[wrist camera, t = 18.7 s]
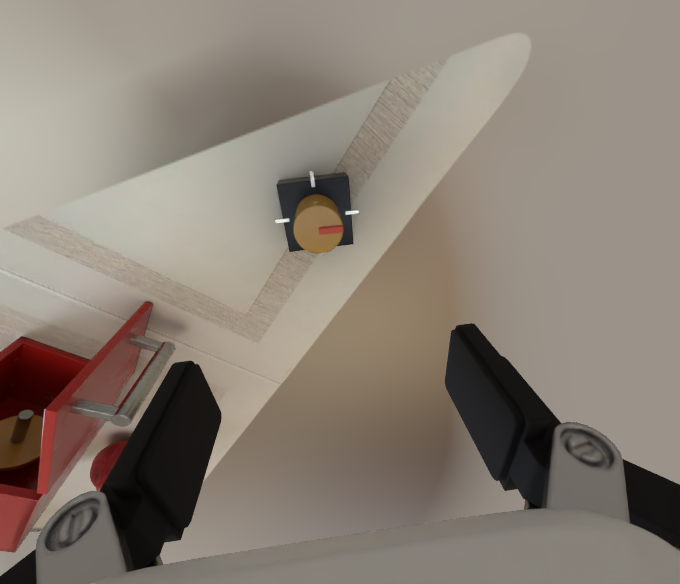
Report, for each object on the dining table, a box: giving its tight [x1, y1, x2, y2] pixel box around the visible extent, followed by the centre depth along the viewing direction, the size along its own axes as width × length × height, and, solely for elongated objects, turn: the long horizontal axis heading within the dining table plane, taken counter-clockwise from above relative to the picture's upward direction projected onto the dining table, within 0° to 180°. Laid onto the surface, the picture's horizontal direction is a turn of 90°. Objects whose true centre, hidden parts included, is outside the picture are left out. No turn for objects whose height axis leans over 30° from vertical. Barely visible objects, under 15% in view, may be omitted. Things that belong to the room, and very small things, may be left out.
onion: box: [90, 441, 128, 491], centre depth 44 cm, size 6×6×8 cm
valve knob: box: [294, 194, 343, 253], centre depth 27 cm, size 4×4×5 cm
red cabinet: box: [0, 337, 123, 552], centre depth 34 cm, size 12×13×16 cm
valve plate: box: [275, 171, 359, 256], centre depth 31 cm, size 9×9×3 cm
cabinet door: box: [37, 302, 175, 494], centre depth 32 cm, size 5×12×16 cm, turn 152°
